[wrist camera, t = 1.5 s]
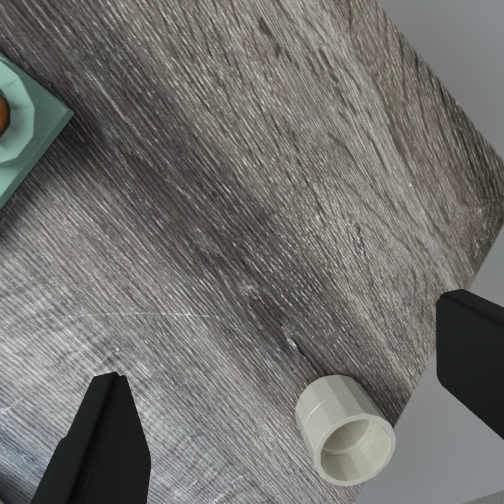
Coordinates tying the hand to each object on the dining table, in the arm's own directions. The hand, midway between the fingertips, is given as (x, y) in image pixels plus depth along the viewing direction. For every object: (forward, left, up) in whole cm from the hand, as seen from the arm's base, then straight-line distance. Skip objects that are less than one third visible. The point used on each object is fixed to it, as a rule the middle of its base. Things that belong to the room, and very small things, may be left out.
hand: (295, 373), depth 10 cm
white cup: (+6, +17, -17) cm, 24 cm away
